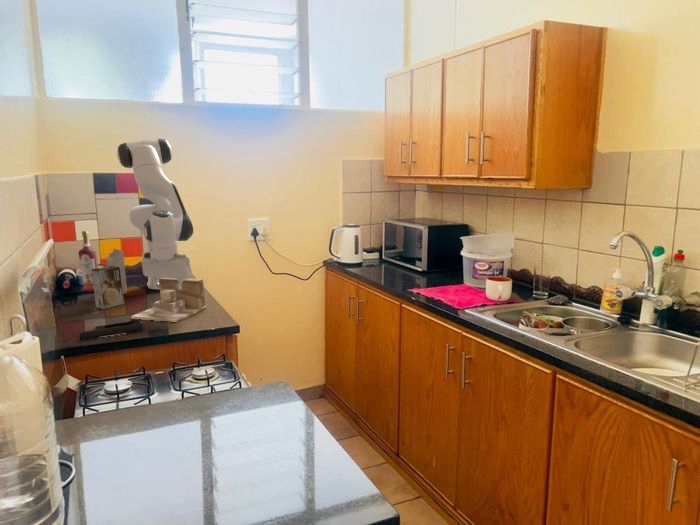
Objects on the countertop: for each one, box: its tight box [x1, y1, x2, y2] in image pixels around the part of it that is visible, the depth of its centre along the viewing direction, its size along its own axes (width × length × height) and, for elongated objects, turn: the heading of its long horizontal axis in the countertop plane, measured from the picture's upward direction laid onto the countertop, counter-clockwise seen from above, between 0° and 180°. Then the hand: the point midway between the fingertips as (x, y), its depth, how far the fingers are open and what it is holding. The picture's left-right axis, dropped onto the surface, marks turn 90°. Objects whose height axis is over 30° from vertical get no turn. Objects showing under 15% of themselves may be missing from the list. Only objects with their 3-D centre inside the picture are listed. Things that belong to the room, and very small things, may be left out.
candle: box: [106, 248, 128, 295], centre depth 236 cm, size 7×14×20 cm, turn 159°
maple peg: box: [159, 290, 176, 304], centre depth 207 cm, size 4×4×8 cm
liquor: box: [78, 230, 98, 293], centre depth 243 cm, size 7×7×28 cm
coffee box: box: [91, 265, 125, 310], centre depth 219 cm, size 9×6×16 cm
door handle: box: [78, 319, 144, 340], centre depth 187 cm, size 3×20×16 cm
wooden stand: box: [130, 277, 207, 322], centre depth 207 cm, size 20×20×12 cm
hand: (168, 288), depth 206 cm, fingers open, 8 cm apart
